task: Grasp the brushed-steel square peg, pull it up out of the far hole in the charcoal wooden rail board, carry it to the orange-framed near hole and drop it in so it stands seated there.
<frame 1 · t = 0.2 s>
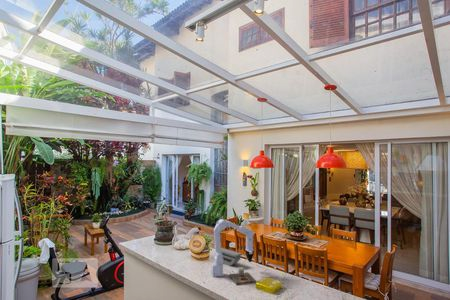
hand: (249, 260, 227), 10 cm above the counter, tool pointing down, fingers open, 7 cm apart
steel peg: (240, 277, 216), resting in rail board
element tile: (269, 288, 198), on the counter
rail board: (242, 279, 212), on the counter
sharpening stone: (227, 263, 246), on the counter
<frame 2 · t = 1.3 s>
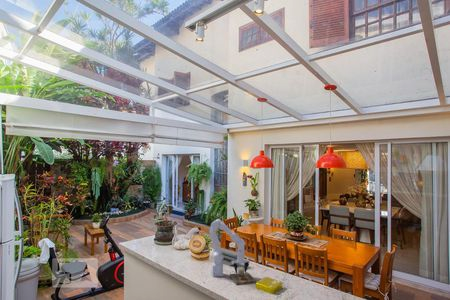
hand: (240, 272, 216), 4 cm above the counter, tool pointing down, fingers open, 7 cm apart
nothing on the counter moved.
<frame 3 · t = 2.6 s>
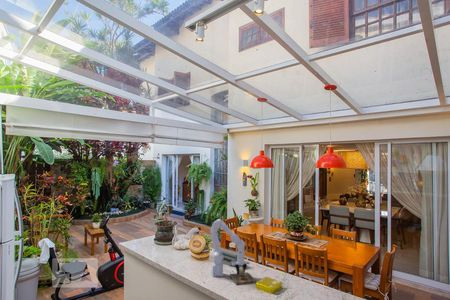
hand: (240, 273, 216), 2 cm above the counter, tool pointing down, fingers closed on steel peg, 4 cm apart
steel peg: (240, 277, 216), resting in rail board, touching gripper
everything else where it was.
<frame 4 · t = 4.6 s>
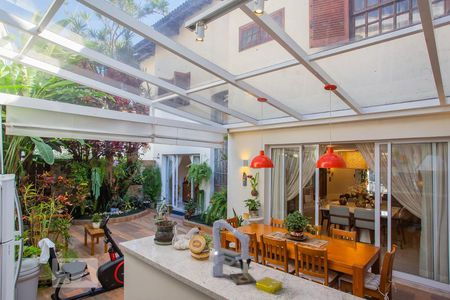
hand: (244, 269, 208), 9 cm above the counter, tool pointing down, fingers closed on steel peg, 4 cm apart
steel peg: (244, 272, 208), point 7 cm above the counter, touching gripper
everything else where it was.
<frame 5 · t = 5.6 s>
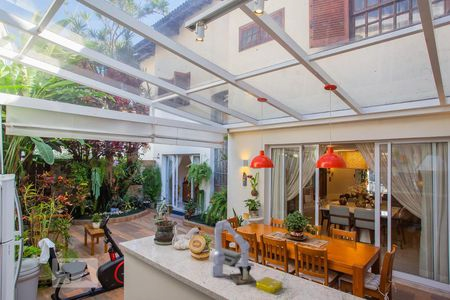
hand: (244, 276, 208), 4 cm above the counter, tool pointing down, fingers closed on steel peg, 4 cm apart
steel peg: (244, 279, 208), point 1 cm above the counter, touching gripper
everything else where it was.
when the fingers open (3 cm above the counter, at t = 6.6 s): steel peg stays where it is, resting in rail board.
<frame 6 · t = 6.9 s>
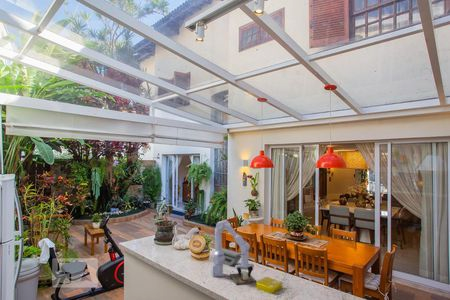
hand: (244, 277, 208), 3 cm above the counter, tool pointing down, fingers open, 7 cm apart
steel peg: (244, 281, 208), resting in rail board
everything else where it was.
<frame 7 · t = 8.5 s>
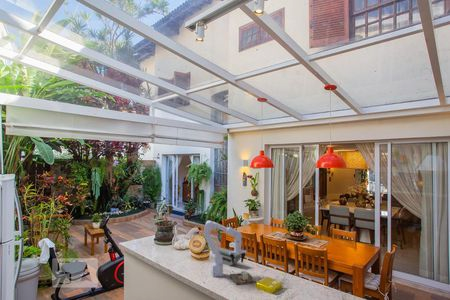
hand: (237, 262, 221), 9 cm above the counter, tool pointing down, fingers open, 7 cm apart
nothing on the counter moved.
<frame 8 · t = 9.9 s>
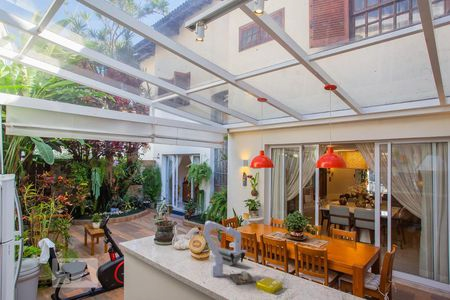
hand: (237, 262, 222), 9 cm above the counter, tool pointing down, fingers open, 7 cm apart
nothing on the counter moved.
at the end: steel peg 0.2 cm from the target spot on the rail board, point 0.0 cm above the rail board's base; steel peg tilted 0°; the gripper is holding nothing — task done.
